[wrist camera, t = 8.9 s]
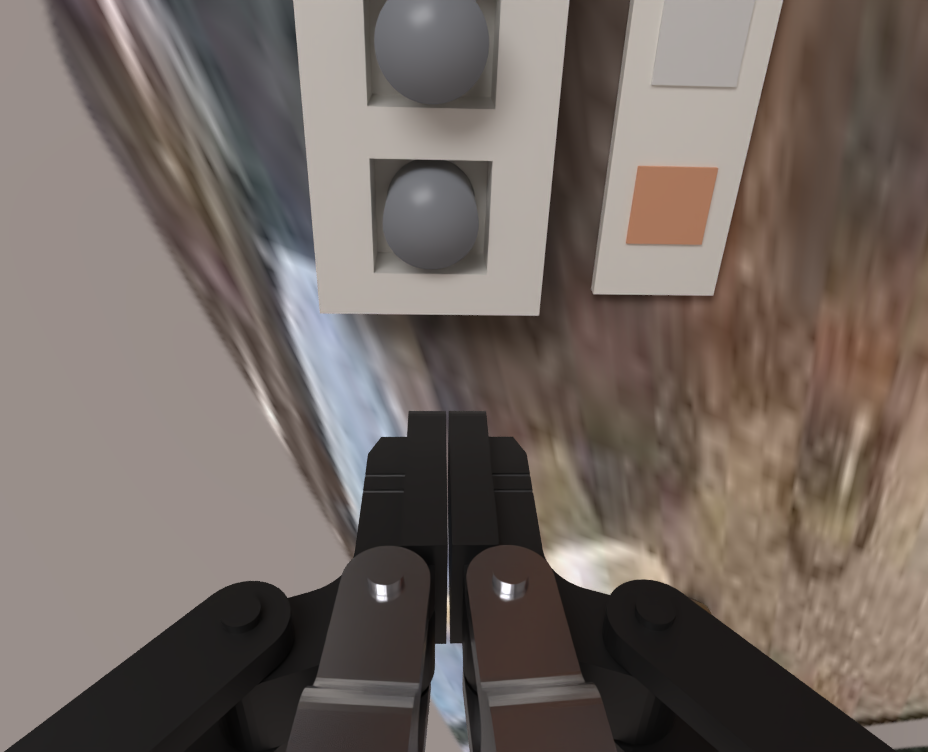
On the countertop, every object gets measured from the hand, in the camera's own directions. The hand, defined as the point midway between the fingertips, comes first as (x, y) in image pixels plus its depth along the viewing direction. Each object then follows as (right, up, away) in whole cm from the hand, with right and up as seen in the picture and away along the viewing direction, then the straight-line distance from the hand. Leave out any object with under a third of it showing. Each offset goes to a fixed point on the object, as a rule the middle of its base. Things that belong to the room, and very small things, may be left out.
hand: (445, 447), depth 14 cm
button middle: (-1, +15, +13) cm, 20 cm away
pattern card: (+10, +15, +15) cm, 24 cm away
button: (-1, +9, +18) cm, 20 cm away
